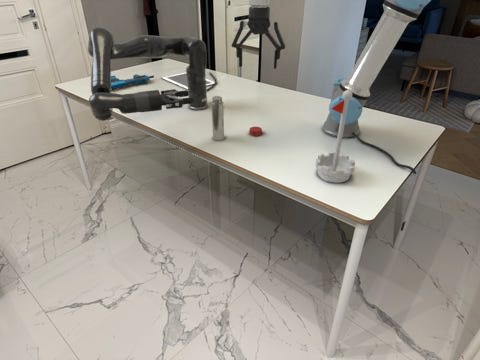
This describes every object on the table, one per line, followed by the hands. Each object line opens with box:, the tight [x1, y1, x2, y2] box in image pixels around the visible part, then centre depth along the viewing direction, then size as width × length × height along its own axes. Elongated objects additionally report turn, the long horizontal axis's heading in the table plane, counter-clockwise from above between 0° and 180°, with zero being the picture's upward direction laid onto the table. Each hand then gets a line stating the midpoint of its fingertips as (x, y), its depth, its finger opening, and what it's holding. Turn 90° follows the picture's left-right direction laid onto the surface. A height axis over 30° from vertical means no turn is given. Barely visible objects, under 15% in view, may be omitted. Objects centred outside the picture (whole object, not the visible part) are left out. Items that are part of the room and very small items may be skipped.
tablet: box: [161, 71, 218, 91], centre depth 211 cm, size 32×20×1 cm, turn 41°
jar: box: [210, 95, 225, 142], centre depth 139 cm, size 5×5×18 cm
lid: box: [248, 126, 263, 137], centre depth 147 cm, size 5×6×2 cm
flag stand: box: [315, 90, 356, 183], centre depth 111 cm, size 13×13×30 cm
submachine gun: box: [111, 73, 155, 91], centre depth 207 cm, size 34×4×25 cm
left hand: (190, 96), depth 131 cm, fingers open, 8 cm apart
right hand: (257, 67), depth 132 cm, fingers open, 13 cm apart
